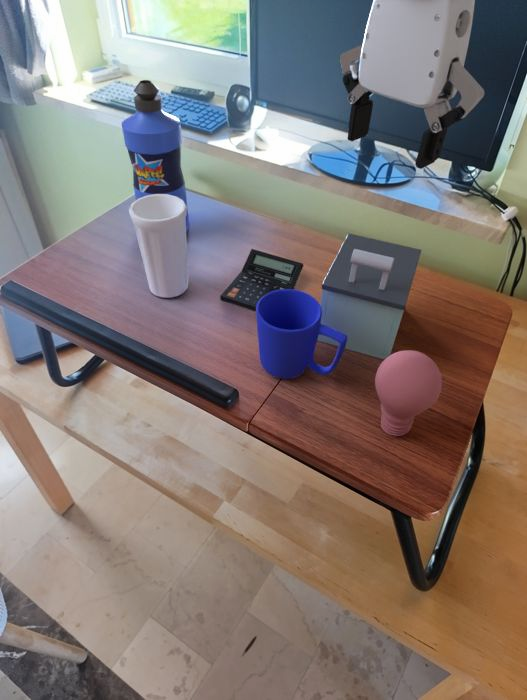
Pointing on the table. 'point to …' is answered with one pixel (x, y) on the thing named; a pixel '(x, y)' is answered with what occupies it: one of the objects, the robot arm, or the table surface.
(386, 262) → the lid
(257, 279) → the calculator
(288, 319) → the mug
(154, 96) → the blue bottle
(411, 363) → the light bulb
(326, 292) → the mint green open box
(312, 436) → the table surface
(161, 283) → the cup
